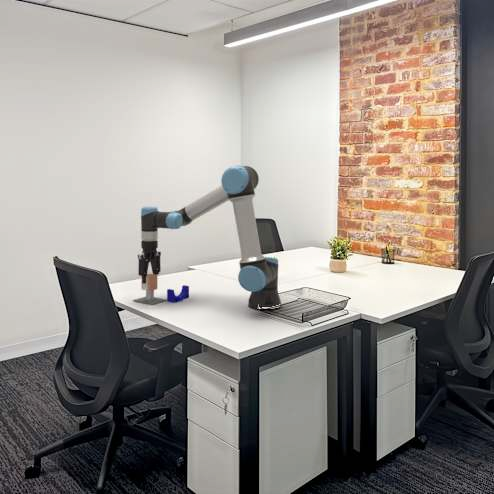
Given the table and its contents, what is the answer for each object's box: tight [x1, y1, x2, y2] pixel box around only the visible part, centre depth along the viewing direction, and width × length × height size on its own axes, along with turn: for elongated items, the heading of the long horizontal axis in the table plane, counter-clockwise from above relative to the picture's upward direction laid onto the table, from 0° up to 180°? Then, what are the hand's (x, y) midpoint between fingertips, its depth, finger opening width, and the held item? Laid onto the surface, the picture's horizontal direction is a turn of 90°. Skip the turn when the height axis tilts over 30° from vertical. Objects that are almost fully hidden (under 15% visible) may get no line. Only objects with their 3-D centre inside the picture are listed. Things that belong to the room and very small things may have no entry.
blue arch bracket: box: [166, 285, 190, 304], centre depth 251 cm, size 12×4×6 cm, turn 144°
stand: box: [132, 290, 167, 306], centre depth 248 cm, size 12×10×6 cm
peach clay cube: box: [141, 273, 158, 291], centre depth 247 cm, size 5×5×7 cm
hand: (149, 288), depth 247 cm, fingers closed on peach clay cube, 5 cm apart
